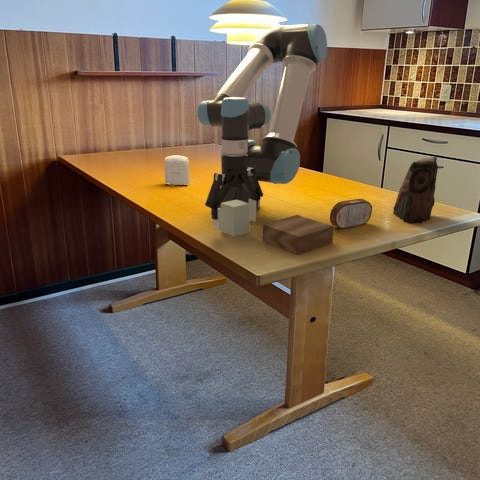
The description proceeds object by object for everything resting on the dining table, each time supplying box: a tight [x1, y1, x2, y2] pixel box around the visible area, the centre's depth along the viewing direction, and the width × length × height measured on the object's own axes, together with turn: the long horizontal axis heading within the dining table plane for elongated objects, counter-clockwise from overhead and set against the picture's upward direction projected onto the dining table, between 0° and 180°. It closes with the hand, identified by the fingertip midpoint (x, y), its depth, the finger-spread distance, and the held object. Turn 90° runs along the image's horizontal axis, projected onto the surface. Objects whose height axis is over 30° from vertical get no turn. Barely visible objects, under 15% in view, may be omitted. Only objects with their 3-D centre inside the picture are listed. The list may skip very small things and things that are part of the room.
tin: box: [329, 198, 373, 230], centre depth 151 cm, size 15×3×8 cm, turn 118°
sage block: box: [220, 200, 251, 237], centre depth 145 cm, size 6×6×9 cm
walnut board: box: [262, 214, 335, 255], centre depth 138 cm, size 14×14×5 cm
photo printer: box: [163, 154, 190, 185], centre depth 201 cm, size 10×4×12 cm, turn 84°
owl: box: [392, 156, 439, 225], centre depth 156 cm, size 13×13×20 cm
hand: (235, 224), depth 146 cm, fingers open, 13 cm apart
